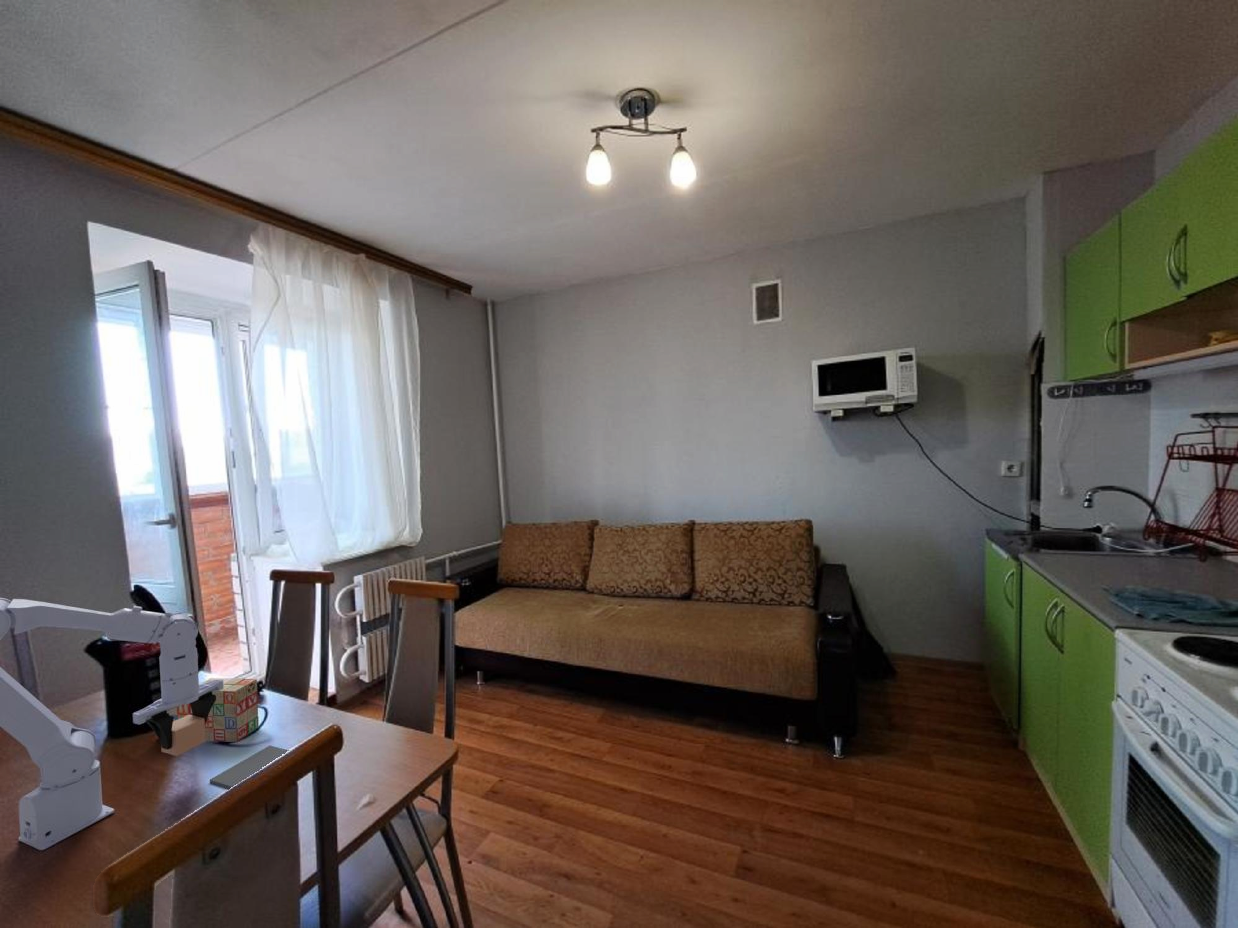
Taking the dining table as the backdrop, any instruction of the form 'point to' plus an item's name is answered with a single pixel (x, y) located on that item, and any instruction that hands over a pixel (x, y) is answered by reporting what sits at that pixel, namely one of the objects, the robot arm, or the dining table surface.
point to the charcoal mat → (247, 767)
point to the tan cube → (186, 734)
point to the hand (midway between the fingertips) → (183, 739)
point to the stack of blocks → (228, 710)
